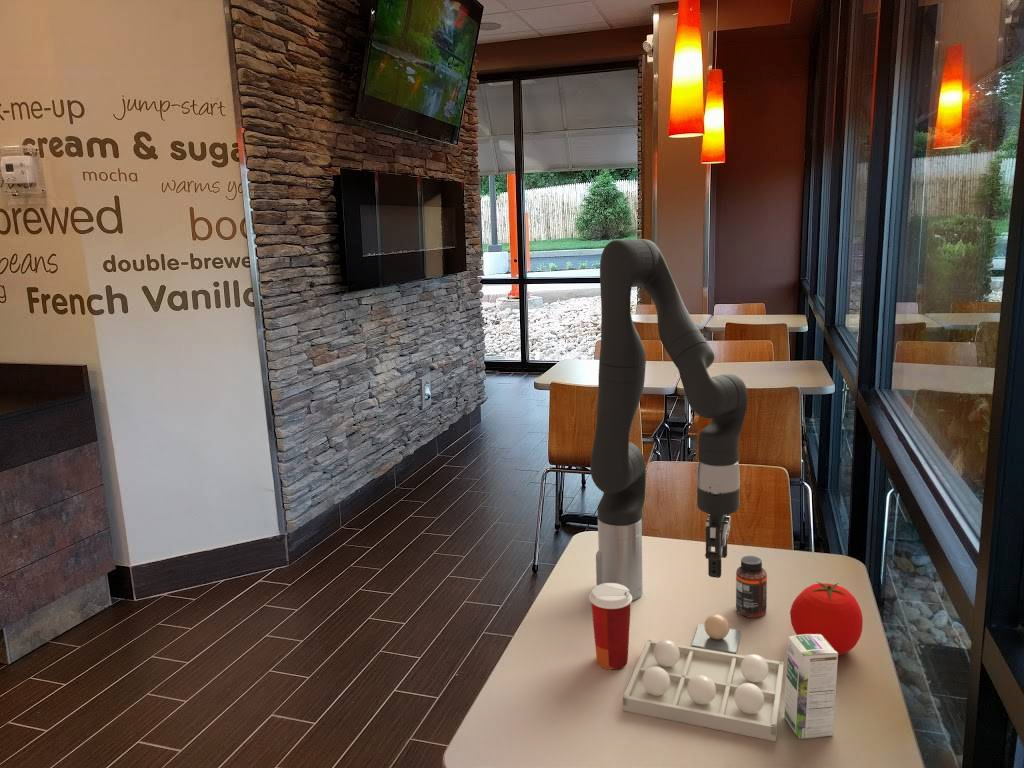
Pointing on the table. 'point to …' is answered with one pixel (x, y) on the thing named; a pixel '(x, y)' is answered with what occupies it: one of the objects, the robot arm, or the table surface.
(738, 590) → the supplement bottle
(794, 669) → the syrup box
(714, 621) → the brown egg
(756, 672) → the white egg back right
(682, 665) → the carton
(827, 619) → the tomato
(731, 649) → the slate coaster
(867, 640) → the table surface
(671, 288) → the robot arm
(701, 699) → the white egg front middle
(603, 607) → the paper cup
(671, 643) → the white egg back left
